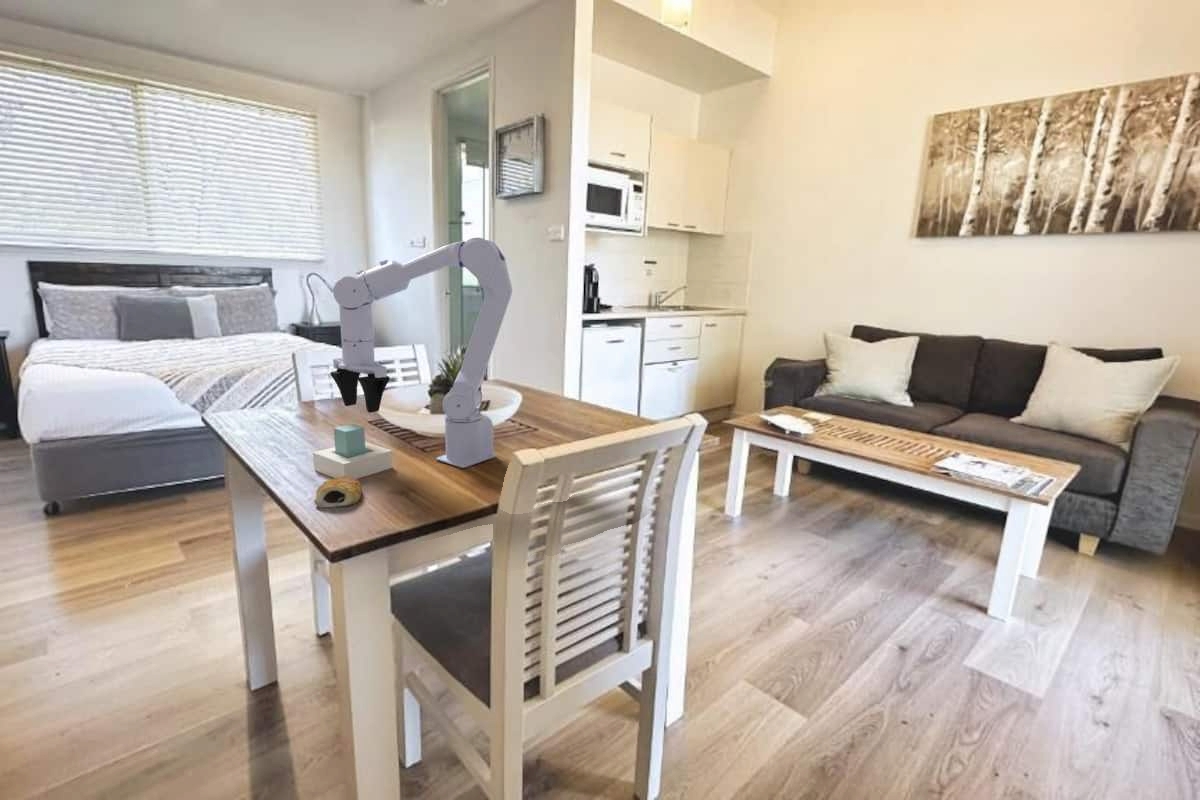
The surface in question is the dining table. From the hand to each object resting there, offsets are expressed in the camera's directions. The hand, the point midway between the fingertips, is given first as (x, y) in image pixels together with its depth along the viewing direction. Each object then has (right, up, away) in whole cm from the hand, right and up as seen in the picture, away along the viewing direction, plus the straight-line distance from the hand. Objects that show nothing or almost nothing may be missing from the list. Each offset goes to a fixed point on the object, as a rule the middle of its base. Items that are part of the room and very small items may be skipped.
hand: (361, 408), depth 113 cm
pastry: (+4, -15, -17) cm, 23 cm away
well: (0, -12, -4) cm, 12 cm away
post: (0, -11, -4) cm, 12 cm away
